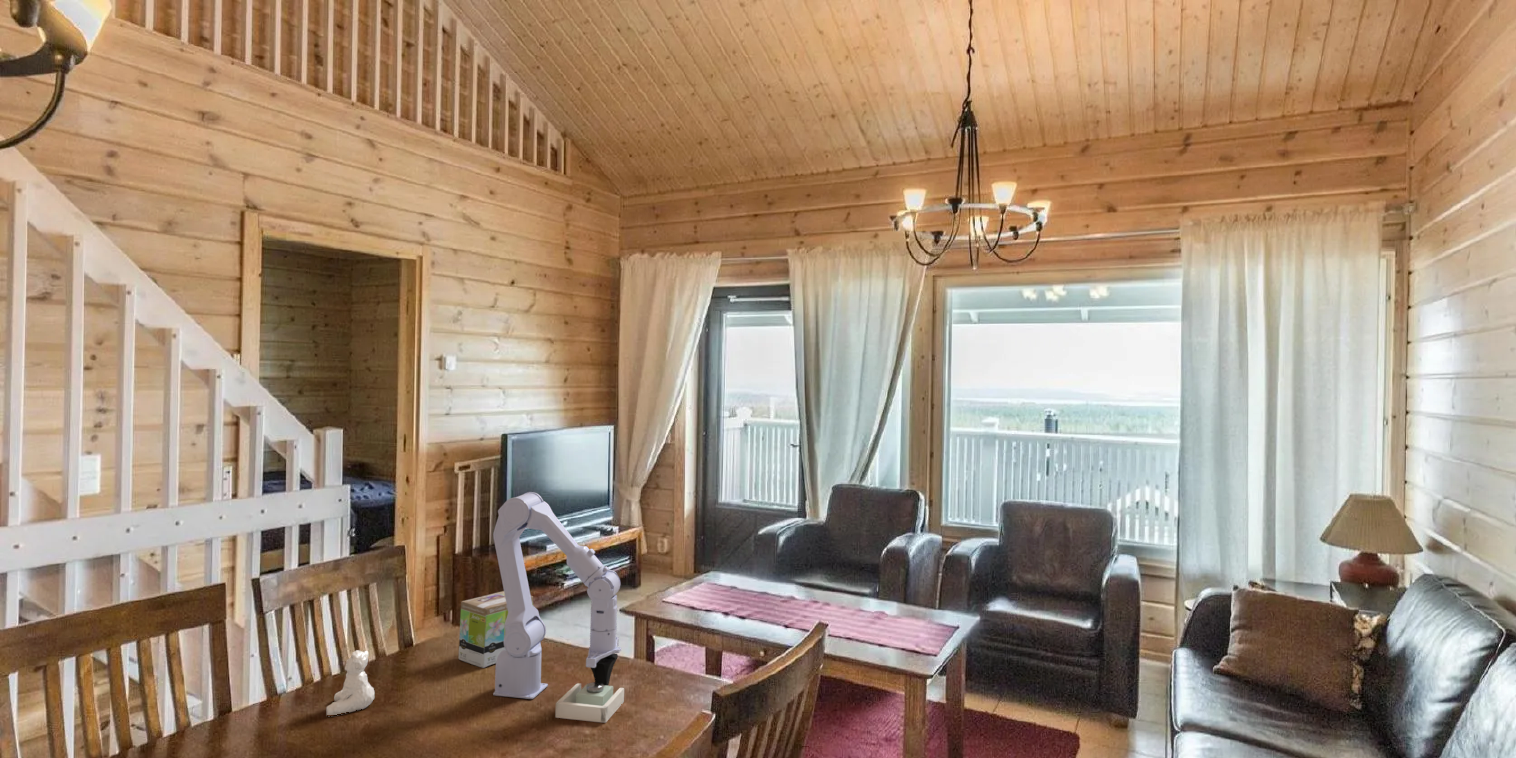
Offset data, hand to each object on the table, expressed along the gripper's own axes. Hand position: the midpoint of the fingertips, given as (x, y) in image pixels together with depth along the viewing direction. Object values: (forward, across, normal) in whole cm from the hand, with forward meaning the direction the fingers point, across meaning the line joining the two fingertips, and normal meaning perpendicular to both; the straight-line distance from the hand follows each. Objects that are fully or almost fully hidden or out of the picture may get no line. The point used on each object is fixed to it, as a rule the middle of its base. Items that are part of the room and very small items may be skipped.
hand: (602, 688), depth 181 cm
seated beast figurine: (+2, -17, +49) cm, 52 cm away
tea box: (+2, +18, +35) cm, 39 cm away
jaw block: (+2, -4, 0) cm, 5 cm away
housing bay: (+2, -6, 0) cm, 6 cm away
